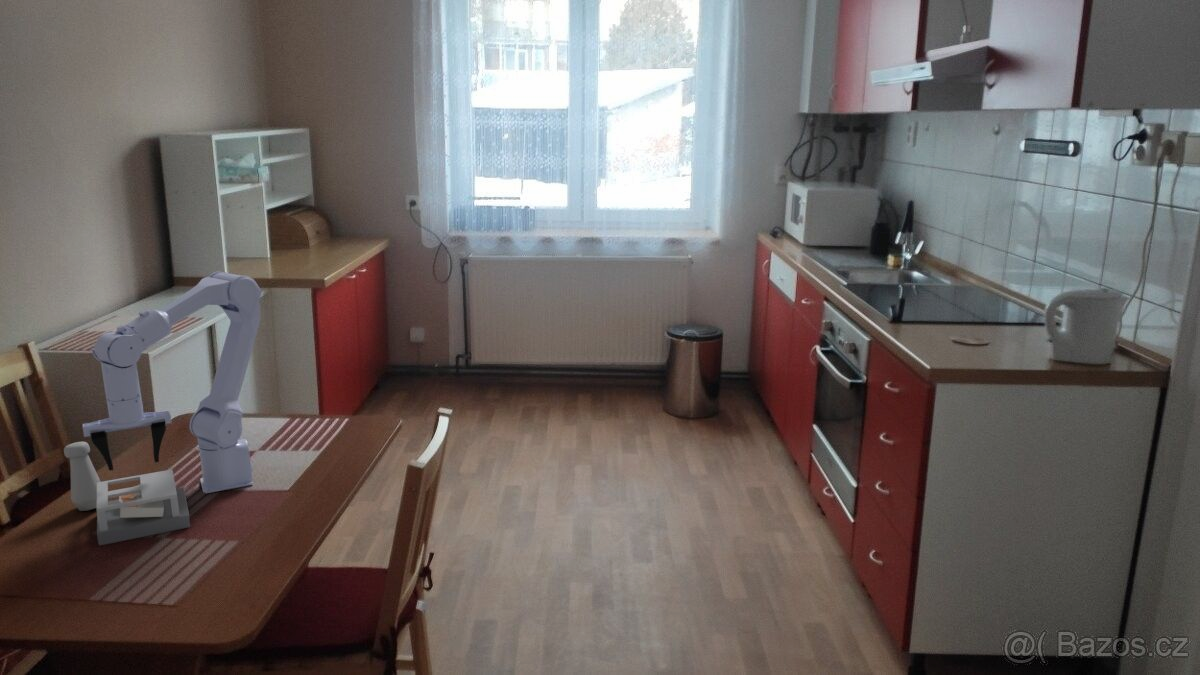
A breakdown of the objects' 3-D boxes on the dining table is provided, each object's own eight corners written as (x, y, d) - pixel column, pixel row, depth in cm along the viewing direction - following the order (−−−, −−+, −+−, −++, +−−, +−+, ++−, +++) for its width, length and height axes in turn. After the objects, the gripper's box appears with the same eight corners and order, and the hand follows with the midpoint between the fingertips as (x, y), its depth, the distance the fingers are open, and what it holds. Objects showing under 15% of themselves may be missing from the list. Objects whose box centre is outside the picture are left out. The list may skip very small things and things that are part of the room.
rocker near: (161, 506, 167) (162, 496, 167) (163, 516, 163) (164, 507, 163) (119, 506, 164) (120, 497, 164) (120, 517, 160) (121, 507, 159)
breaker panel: (185, 498, 177) (180, 466, 175) (190, 526, 165) (186, 493, 163) (99, 514, 170) (94, 482, 168) (98, 545, 158) (93, 510, 156)
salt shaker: (92, 512, 169) (75, 447, 167) (67, 513, 170) (50, 449, 168) (114, 500, 175) (98, 437, 172) (90, 501, 176) (74, 439, 174)
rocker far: (160, 485, 173) (157, 477, 172) (162, 495, 169) (158, 487, 168) (122, 500, 170) (118, 491, 169) (123, 510, 166) (119, 501, 165)
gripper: (165, 384, 171) (174, 450, 174) (78, 396, 164) (90, 464, 167) (168, 394, 165) (177, 462, 168) (78, 407, 158) (90, 477, 161)
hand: (134, 464), depth 167 cm, fingers open, 7 cm apart
